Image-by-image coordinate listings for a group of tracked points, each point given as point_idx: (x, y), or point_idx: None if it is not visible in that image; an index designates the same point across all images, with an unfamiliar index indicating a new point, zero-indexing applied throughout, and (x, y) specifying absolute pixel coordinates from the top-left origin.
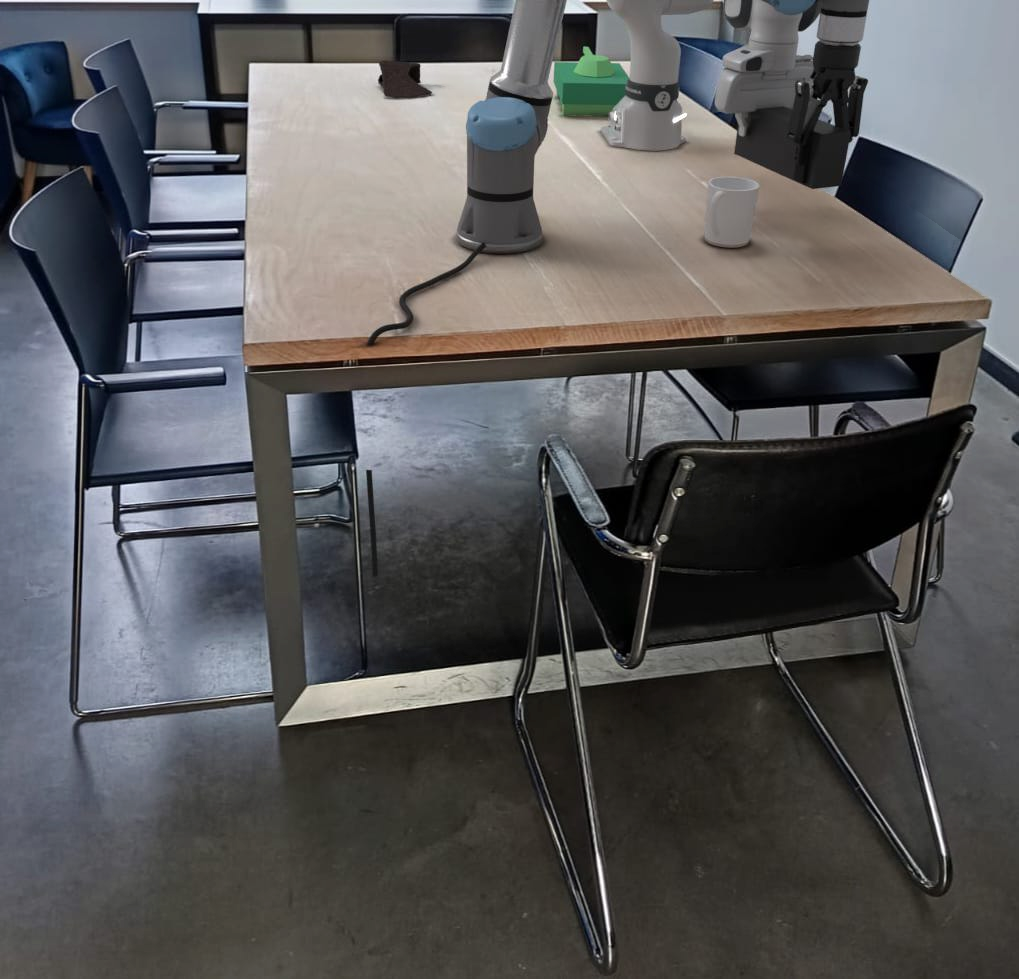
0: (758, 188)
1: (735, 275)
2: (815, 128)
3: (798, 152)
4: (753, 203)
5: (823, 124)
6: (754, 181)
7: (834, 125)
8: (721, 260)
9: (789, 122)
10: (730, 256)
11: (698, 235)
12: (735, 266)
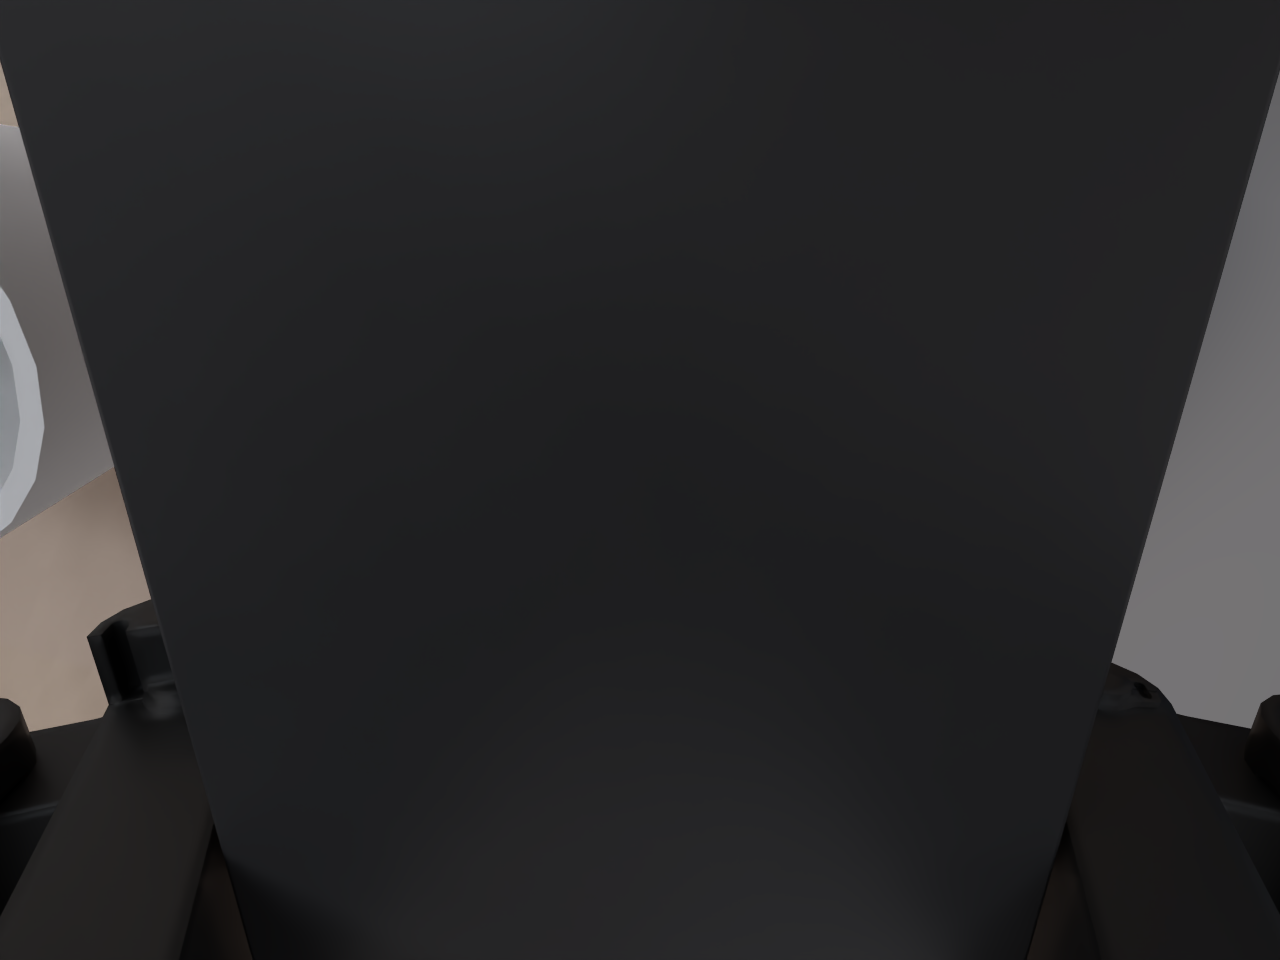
0: (17, 521)
1: (41, 687)
2: (429, 935)
3: None
4: (62, 498)
5: (869, 725)
6: (24, 360)
7: (1041, 862)
8: (30, 521)
9: (36, 165)
10: (95, 489)
11: (5, 113)
12: (76, 604)
